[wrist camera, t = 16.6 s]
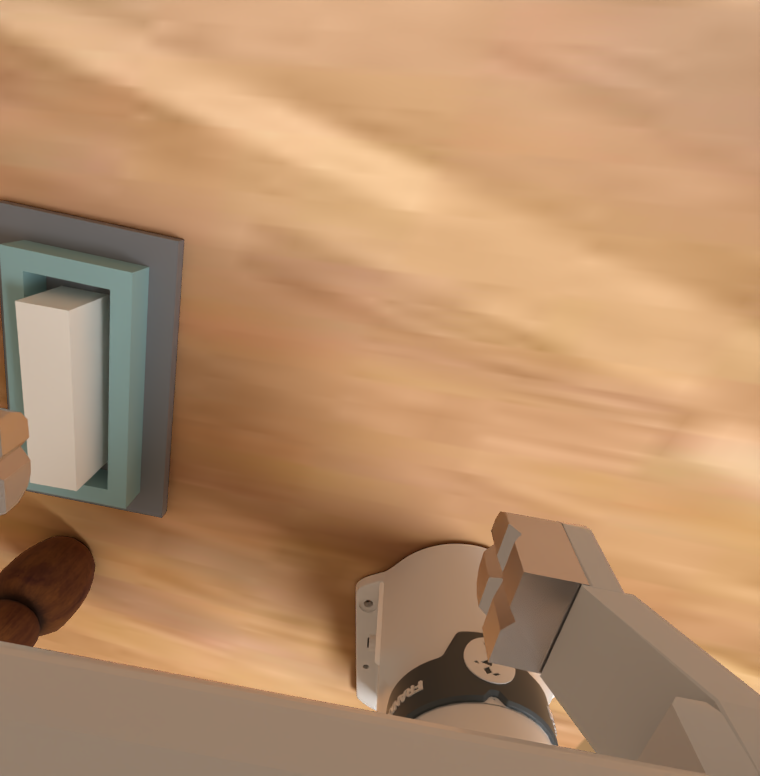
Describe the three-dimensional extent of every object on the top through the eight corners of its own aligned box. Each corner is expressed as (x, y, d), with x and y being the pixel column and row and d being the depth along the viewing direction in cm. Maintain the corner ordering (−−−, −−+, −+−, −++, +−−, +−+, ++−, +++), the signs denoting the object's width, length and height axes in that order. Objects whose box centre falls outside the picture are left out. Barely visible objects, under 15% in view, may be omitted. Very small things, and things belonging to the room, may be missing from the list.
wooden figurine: (118, 570, 50) (8, 722, 36) (71, 589, 51) (-54, 743, 37) (74, 515, 48) (-61, 655, 34) (25, 536, 49) (-125, 679, 35)
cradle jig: (166, 511, 47) (148, 535, 44) (20, 481, 47) (-8, 504, 44) (184, 239, 38) (163, 245, 35) (3, 200, 38) (-34, 202, 35)
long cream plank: (111, 458, 44) (76, 491, 40) (69, 450, 44) (30, 482, 40) (109, 294, 39) (68, 310, 34) (61, 285, 39) (15, 300, 34)
